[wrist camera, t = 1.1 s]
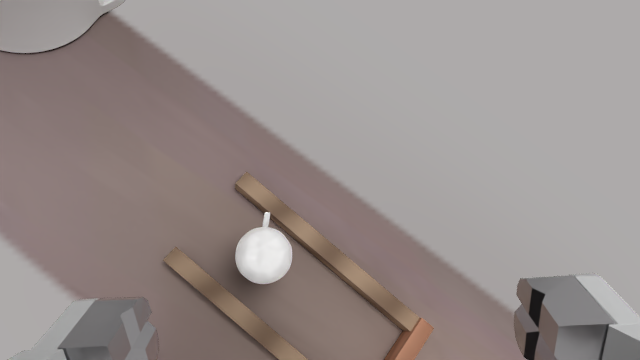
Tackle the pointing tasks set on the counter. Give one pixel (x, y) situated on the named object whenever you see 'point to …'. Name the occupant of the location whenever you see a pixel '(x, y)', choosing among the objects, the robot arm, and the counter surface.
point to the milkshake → (263, 254)
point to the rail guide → (328, 254)
